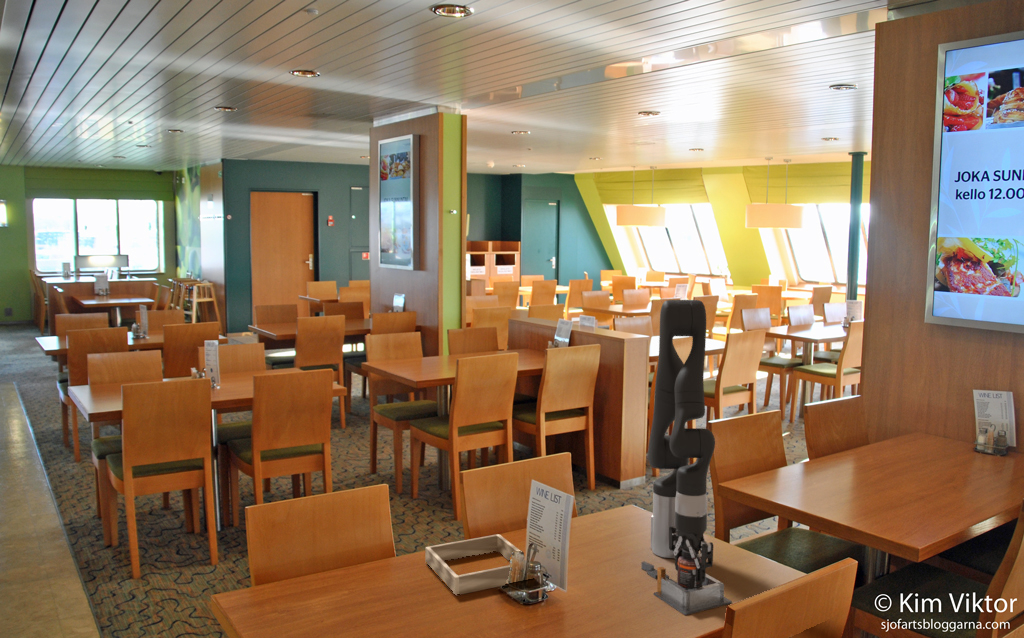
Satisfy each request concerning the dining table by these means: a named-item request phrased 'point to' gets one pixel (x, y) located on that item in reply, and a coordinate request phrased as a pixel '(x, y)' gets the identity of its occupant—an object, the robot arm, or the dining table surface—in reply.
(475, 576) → the frame
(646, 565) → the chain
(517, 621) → the dining table surface
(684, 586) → the supplement bottle
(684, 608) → the keeper
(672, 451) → the robot arm
